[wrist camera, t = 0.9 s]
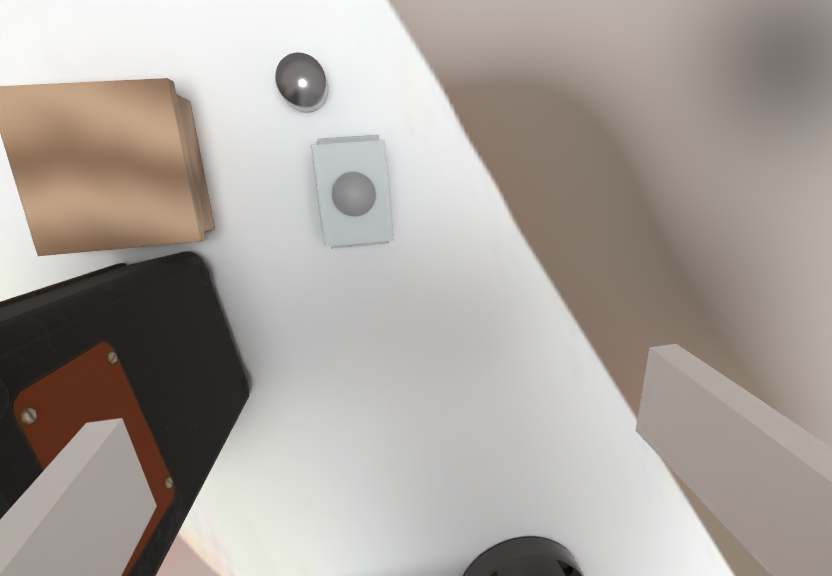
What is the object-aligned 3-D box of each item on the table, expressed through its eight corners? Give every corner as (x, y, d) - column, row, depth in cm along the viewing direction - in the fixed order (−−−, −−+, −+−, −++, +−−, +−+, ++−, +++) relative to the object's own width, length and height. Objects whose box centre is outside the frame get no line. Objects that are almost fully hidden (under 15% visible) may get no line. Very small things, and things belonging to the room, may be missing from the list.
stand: (222, 233, 36) (200, 241, 31) (82, 246, 34) (37, 256, 29) (195, 94, 33) (167, 78, 28) (42, 102, 32) (-14, 87, 27)
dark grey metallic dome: (330, 111, 35) (328, 104, 32) (286, 113, 34) (279, 106, 31) (325, 63, 34) (322, 51, 31) (279, 65, 33) (271, 53, 30)
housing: (387, 241, 38) (395, 255, 30) (332, 246, 37) (325, 262, 30) (378, 136, 36) (383, 122, 28) (318, 140, 35) (308, 127, 27)
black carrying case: (100, 263, 35) (-480, 437, 11) (204, 239, 35) (-122, 352, 11) (169, 424, 39) (-139, 812, 15) (262, 399, 39) (111, 734, 15)
